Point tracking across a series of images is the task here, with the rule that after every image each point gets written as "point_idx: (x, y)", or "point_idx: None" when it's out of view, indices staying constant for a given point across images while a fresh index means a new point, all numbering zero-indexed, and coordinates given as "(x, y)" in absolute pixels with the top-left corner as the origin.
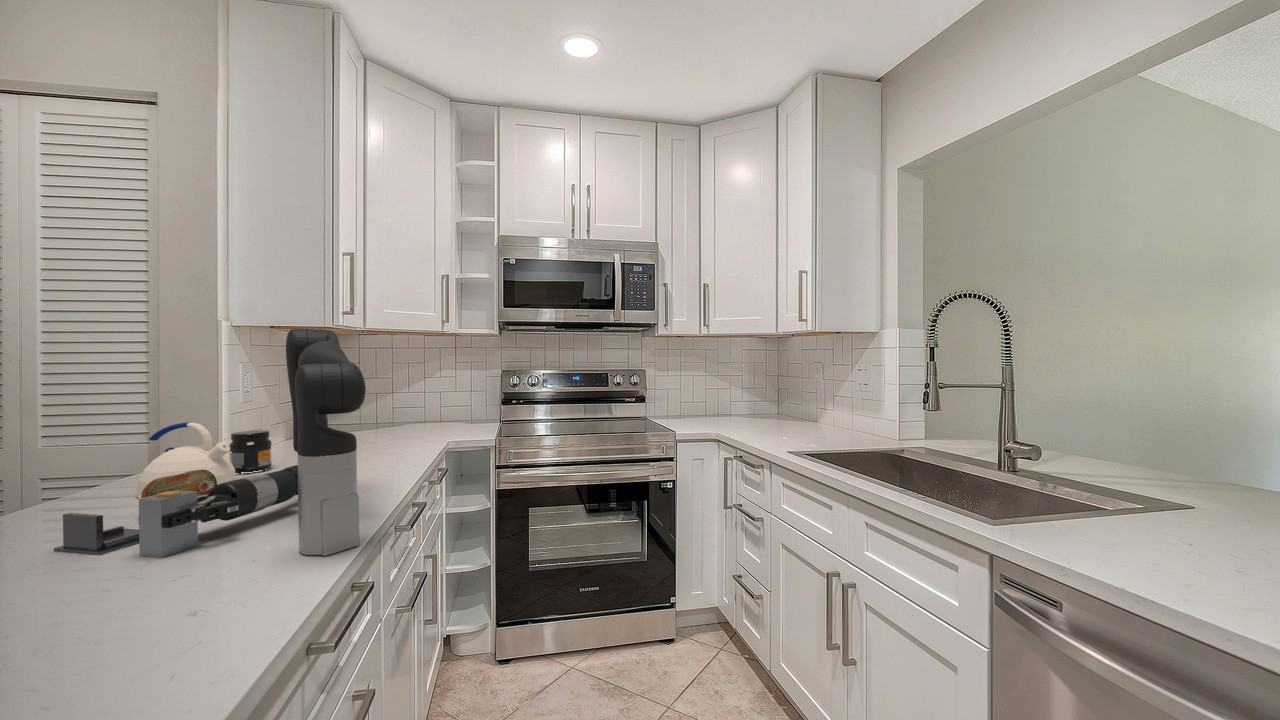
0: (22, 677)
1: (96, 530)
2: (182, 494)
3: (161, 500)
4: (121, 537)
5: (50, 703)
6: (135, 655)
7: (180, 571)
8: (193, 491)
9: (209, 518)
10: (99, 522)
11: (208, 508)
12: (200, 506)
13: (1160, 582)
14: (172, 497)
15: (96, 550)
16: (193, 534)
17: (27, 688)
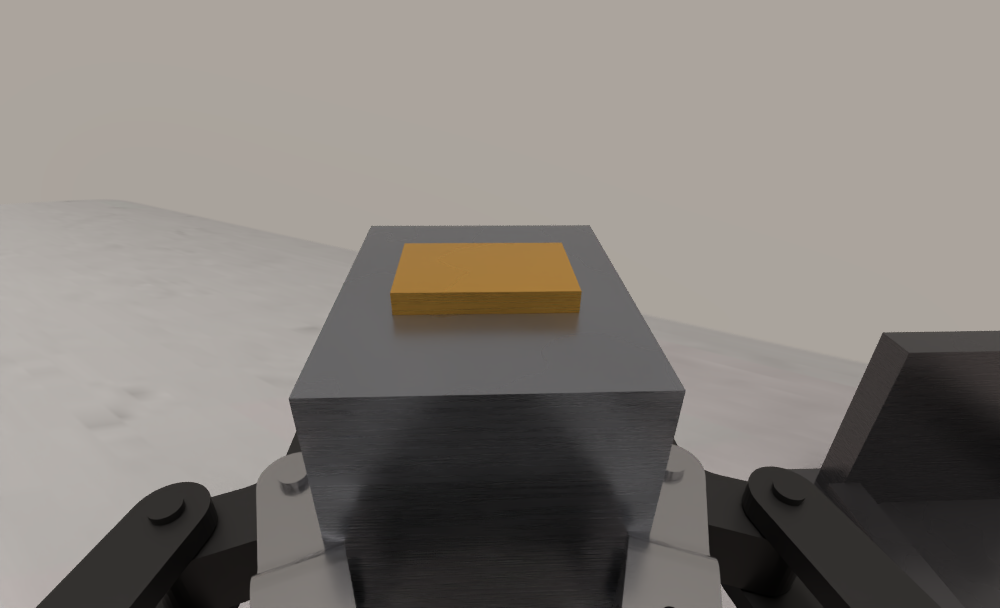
0: (161, 213)
1: (855, 400)
2: (358, 309)
3: (372, 230)
4: (922, 568)
5: (71, 203)
6: (11, 240)
7: (167, 439)
8: (347, 392)
9: (157, 606)
10: (880, 374)
11: (122, 524)
12: (277, 548)
13: None
14: (356, 260)
15: (818, 480)
16: None
17: (130, 208)
